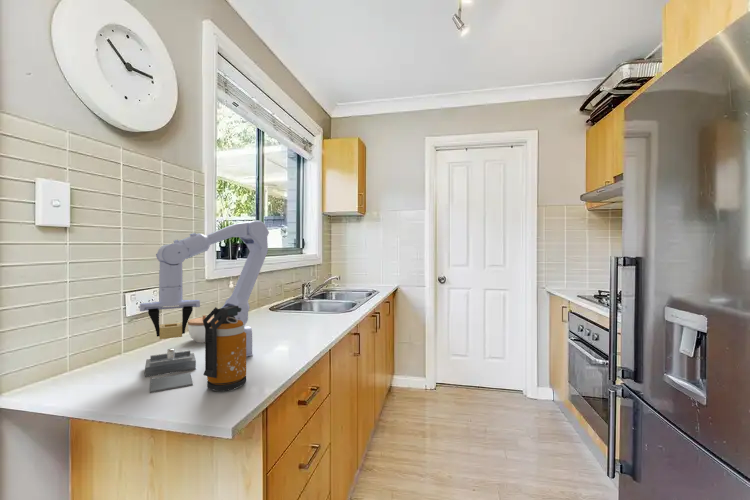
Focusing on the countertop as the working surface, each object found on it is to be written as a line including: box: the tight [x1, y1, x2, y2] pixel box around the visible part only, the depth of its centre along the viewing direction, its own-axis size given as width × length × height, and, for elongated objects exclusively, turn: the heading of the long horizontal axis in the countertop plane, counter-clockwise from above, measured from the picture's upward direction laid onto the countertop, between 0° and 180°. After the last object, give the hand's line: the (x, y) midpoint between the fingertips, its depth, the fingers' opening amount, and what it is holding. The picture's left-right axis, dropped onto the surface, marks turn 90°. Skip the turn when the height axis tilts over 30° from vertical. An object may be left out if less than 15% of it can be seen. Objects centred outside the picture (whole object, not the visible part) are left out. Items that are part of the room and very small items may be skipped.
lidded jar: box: [187, 314, 218, 344], centre depth 129 cm, size 11×11×9 cm
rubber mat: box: [149, 372, 194, 394], centre depth 88 cm, size 9×9×1 cm
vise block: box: [144, 348, 197, 378], centre depth 98 cm, size 12×8×6 cm, turn 121°
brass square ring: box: [159, 322, 183, 340], centre depth 98 cm, size 5×5×3 cm
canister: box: [203, 306, 247, 392], centre depth 85 cm, size 9×11×20 cm
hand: (171, 334), depth 98 cm, fingers closed on brass square ring, 5 cm apart
